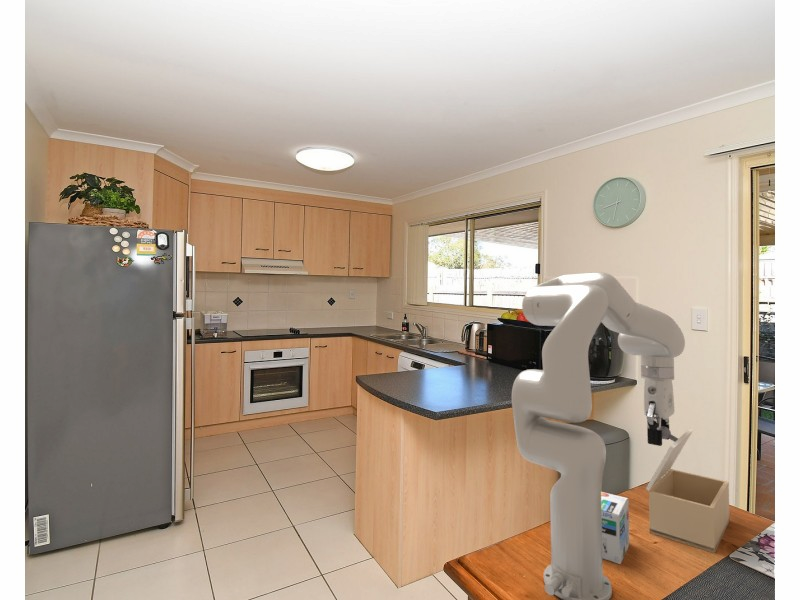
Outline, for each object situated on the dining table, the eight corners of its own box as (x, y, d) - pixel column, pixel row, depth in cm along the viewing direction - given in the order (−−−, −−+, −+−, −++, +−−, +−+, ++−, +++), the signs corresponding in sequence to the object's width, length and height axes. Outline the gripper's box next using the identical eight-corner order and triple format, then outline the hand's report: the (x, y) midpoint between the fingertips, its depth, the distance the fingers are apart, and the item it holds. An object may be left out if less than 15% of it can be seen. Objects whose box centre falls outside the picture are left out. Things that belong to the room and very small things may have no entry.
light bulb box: (621, 565, 94) (620, 515, 94) (587, 555, 98) (587, 506, 98) (630, 543, 102) (629, 497, 102) (599, 534, 106) (598, 490, 106)
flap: (674, 447, 103) (648, 432, 107) (648, 491, 107) (624, 474, 111) (693, 429, 117) (670, 416, 121) (670, 468, 121) (648, 454, 125)
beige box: (714, 553, 98) (713, 508, 98) (649, 532, 107) (648, 491, 107) (729, 521, 112) (728, 481, 112) (671, 505, 121) (670, 468, 121)
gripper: (664, 378, 106) (666, 453, 105) (682, 370, 118) (683, 437, 118) (630, 375, 111) (632, 446, 111) (651, 367, 123) (652, 431, 123)
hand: (658, 440), depth 114 cm, fingers open, 6 cm apart
